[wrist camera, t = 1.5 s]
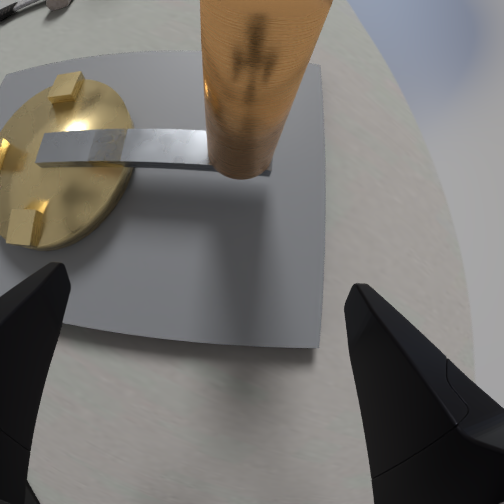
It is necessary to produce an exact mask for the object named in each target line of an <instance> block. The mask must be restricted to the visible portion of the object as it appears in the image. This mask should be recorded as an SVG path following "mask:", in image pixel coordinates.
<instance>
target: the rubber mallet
mask: <svg viewBox="0 0 504 504" xmlns="http://www.w3.org/2000/svg"><path fill="white" fill-rule="evenodd" d="M37 1H39V0H22V1H20V2H16V3H13V4H11V5H9V6H7V7H4V8H2V9H0V20H2V19H4V18H6V17H8V16H9V15H11V14H13V13H15V12H16V11H17V10H19V9H21V8H23V7H25V6H28V5H30V4H32V3H35V2H37ZM70 1H71V0H46V5H47V7H48V8H49V9H50V10H52V11H55V10H57V9H60V8H63V7H67V6H68V5H69V3H70Z"/></svg>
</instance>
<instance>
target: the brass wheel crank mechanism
mask: <svg viewBox="0 0 504 504" xmlns="http://www.w3.org/2000/svg"><path fill="white" fill-rule="evenodd" d="M332 1H333V0H200V16H201V44H202V67H203V86H204V103H205V119H206V131H202V130H182V129H135V127H134V123H133V121H132V119H131V117H130V114H129V112H128V110H127V108H126V106H125V104H124V101H123V100H122V98H121V97H120V96H119V94H118V93H117V92H116V91H115V90H113V89H112V88H111V87H109V86H108V85H106V84H104V83H101V82H99V81H94V80H88V79H85V77H84V75H83V74H82V72H81V71H78V72H71V73H65V74H59V75H57V77H56V79H55V81H54V83H53V86H51V87H48V88H46V89H45V90H43V91H41V92H39V93H38V94H36V95H35V96H33V97H32V98H30V99H29V100H28V101H27V102H26V103H24V104H23V105H22V106H21V107H20V108H19V109H18V110H17V111H16V112H15V113H14V114H13V115H12V117H11V118H10V119H9V120H8V121H7V123H6V124H5V126H4V127H3V129H2V130H1V132H0V236H1V237H3V238H4V239H6V243H7V244H11V245H15V246H22V247H25V248H29V249H32V250H37V251H52V250H58V249H61V248H65V247H68V246H70V245H72V244H74V243H76V242H78V241H80V240H81V239H83V238H84V237H86V236H88V235H89V234H90V233H91V232H92V231H94V230H95V229H96V228H97V227H98V226H99V225H100V224H101V223H102V222H103V221H104V220H105V219H106V218H107V217H108V216H109V214H110V213H111V212H112V211H113V210H114V208H115V207H116V205H117V204H118V202H119V201H120V199H121V198H122V196H123V194H124V192H125V190H126V188H127V186H128V183H129V181H130V178H131V176H132V173H133V169H134V168H160V169H180V170H196V171H211V172H219V173H221V174H222V175H224V176H226V177H228V178H232V179H237V180H245V179H251V178H254V177H256V176H265V177H270V174H271V172H272V159H273V155H274V152H275V149H276V147H277V144H278V141H279V139H280V136H281V134H282V131H283V128H284V126H285V123H286V120H287V118H288V115H289V112H290V110H291V107H292V105H293V102H294V99H295V97H296V94H297V91H298V89H299V86H300V84H301V81H302V78H303V76H304V73H305V71H306V68H307V66H308V63H309V60H310V58H311V55H312V53H313V50H314V48H315V45H316V42H317V40H318V37H319V35H320V32H321V30H322V27H323V25H324V22H325V20H326V17H327V14H328V12H329V9H330V7H331V4H332Z"/></svg>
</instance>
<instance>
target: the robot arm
mask: <svg viewBox="0 0 504 504" xmlns="http://www.w3.org/2000/svg"><path fill="white" fill-rule="evenodd" d="M70 291H71V283H70V280H69V277H68V274H67V270H66V267H65V265H64V264H63V263H62V262H54V261H53V262H50V263H48V264H47V265H45V266H44V267H42V268H41V269H39V270H38V271H36V272H35V273H33V274H32V275H30V276H29V277H27V278H26V279H24V280H23V281H21V282H20V283H19V284H17V285H16V286H14V287H13V288H12V289H10V290H9V291H7V292H6V293H5V294H3V295H2V296H0V500H2V501H4V502H7V503H9V504H25V493H26V482H27V473H28V466H29V458H30V451H31V445H32V439H33V433H34V428H35V423H36V418H37V414H38V409H39V405H40V401H41V397H42V393H43V389H44V385H45V381H46V377H47V374H48V370H49V367H50V363H51V360H52V357H53V353H54V350H55V347H56V344H57V341H58V338H59V334H60V331H61V327H62V323H63V318H64V314H65V310H66V306H67V303H68V299H69V295H70ZM344 313H345V321H346V329H347V338H348V347H349V355H350V361H351V365H352V370H353V375H354V380H355V385H356V390H357V395H358V400H359V405H360V410H361V416H362V421H363V427H364V433H365V439H366V445H367V451H368V458H369V465H370V472H371V478H372V488H373V496H374V504H504V408H502V407H501V406H500V405H499V404H498V403H497V402H495V401H494V400H493V399H492V398H491V397H490V396H489V395H487V394H486V393H485V392H484V391H483V390H482V389H480V388H479V387H478V386H477V385H476V384H475V383H474V382H473V381H471V380H470V379H469V378H468V377H467V376H466V375H465V374H464V373H463V372H462V371H461V370H460V369H458V368H457V367H456V366H455V365H454V364H453V363H452V362H451V361H450V360H449V359H448V358H447V359H446V356H445V355H444V354H443V353H442V352H441V351H440V350H439V349H438V348H437V347H436V346H435V345H434V344H433V343H432V342H430V341H429V340H428V339H427V338H426V337H425V336H424V335H423V334H422V333H421V332H420V331H419V330H418V329H417V328H416V327H415V326H413V325H412V324H411V323H410V322H409V321H408V320H407V319H406V318H405V317H404V316H403V315H402V314H400V313H399V312H398V311H397V310H396V309H395V308H394V307H393V306H392V305H391V304H389V303H388V302H387V301H386V300H385V299H384V298H383V297H382V296H381V295H379V294H378V293H377V292H376V291H375V290H374V289H373V288H371V287H370V286H369V285H368V284H362V283H356V284H354V285H353V286H352V288H351V290H350V293H349V295H348V297H347V300H346V302H345V306H344Z"/></svg>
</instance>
